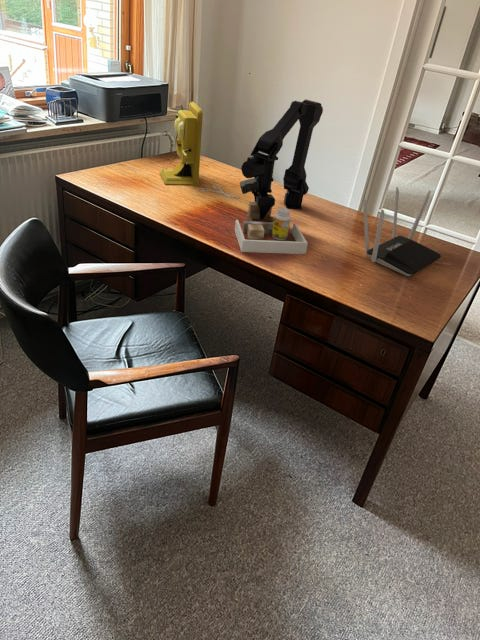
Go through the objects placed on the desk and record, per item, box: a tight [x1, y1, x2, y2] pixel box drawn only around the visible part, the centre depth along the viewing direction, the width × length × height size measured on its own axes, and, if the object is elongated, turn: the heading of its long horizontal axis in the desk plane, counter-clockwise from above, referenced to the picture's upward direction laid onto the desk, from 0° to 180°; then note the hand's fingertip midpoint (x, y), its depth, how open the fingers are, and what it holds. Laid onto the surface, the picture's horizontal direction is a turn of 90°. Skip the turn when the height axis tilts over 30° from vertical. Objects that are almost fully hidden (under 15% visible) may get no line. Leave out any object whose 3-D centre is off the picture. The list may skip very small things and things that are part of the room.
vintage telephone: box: [158, 101, 204, 187], centre depth 199 cm, size 31×14×30 cm, turn 17°
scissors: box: [196, 184, 242, 202], centre depth 198 cm, size 11×1×20 cm
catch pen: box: [234, 219, 308, 255], centre depth 162 cm, size 22×17×4 cm
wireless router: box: [362, 186, 442, 277], centre depth 159 cm, size 34×23×20 cm
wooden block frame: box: [242, 201, 274, 235], centre depth 173 cm, size 16×16×6 cm
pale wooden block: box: [246, 224, 265, 240], centre depth 165 cm, size 5×5×4 cm
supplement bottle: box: [271, 207, 292, 241], centre depth 164 cm, size 6×6×10 cm
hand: (259, 214), depth 179 cm, fingers open, 9 cm apart
